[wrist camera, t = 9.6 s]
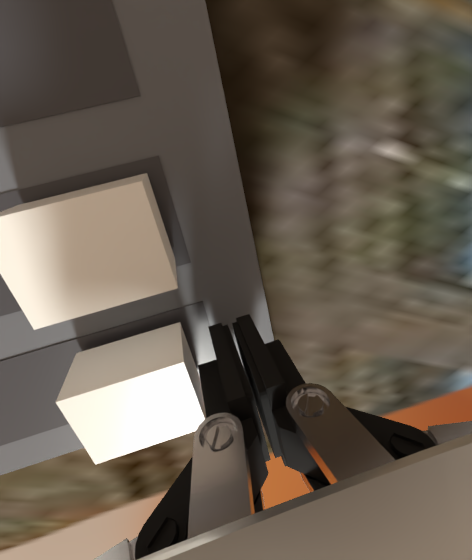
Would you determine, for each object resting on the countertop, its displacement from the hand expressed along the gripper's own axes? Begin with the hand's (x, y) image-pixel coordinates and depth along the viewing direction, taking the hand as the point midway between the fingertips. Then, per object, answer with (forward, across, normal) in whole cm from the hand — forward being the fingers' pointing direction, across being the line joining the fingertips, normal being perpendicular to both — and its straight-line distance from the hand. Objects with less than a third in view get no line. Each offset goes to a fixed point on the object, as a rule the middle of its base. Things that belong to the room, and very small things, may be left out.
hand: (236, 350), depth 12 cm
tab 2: (+1, +4, 0) cm, 4 cm away
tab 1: (+1, +3, -6) cm, 6 cm away
